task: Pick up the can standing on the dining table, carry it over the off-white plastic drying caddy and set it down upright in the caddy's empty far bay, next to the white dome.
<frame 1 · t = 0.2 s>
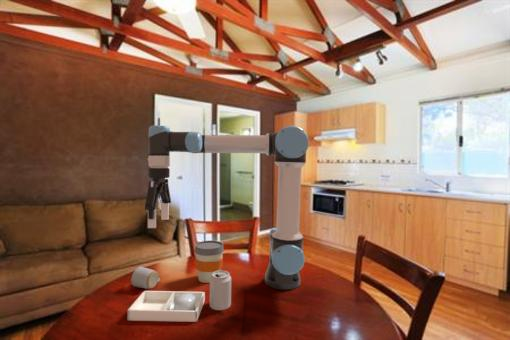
hand: (158, 223, 103), 28 cm above the table, fingers open, 13 cm apart
white dome: (184, 310, 93), point 1 cm above the table, touching caddy
reusable coffee cup: (209, 278, 120), on the table
ceramic mug: (147, 286, 112), on the table
caddy: (168, 312, 93), on the table
can: (220, 307, 97), on the table
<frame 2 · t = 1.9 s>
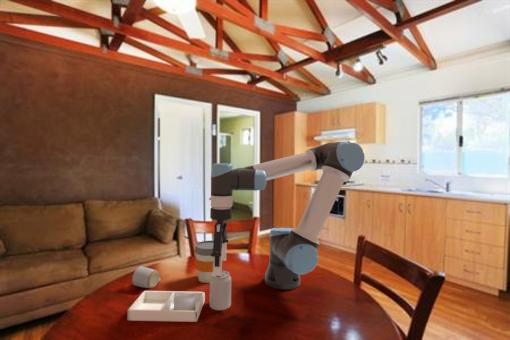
hand: (219, 267, 96), 14 cm above the table, fingers open, 13 cm apart
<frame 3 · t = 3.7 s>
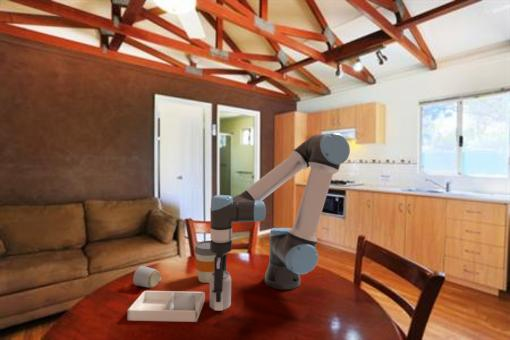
hand: (220, 303, 97), 1 cm above the table, fingers closed on can, 7 cm apart
can: (220, 307, 97), on the table, touching gripper
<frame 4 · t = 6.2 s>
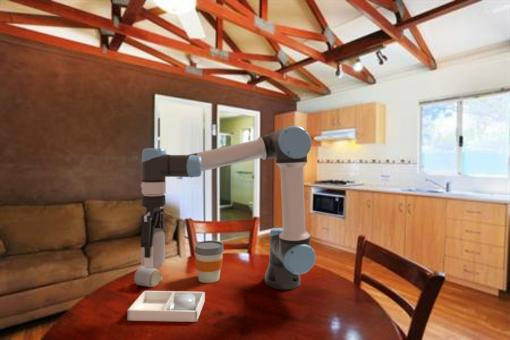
hand: (153, 261, 92), 17 cm above the table, fingers closed on can, 7 cm apart
can: (153, 265, 92), point 16 cm above the table, touching gripper
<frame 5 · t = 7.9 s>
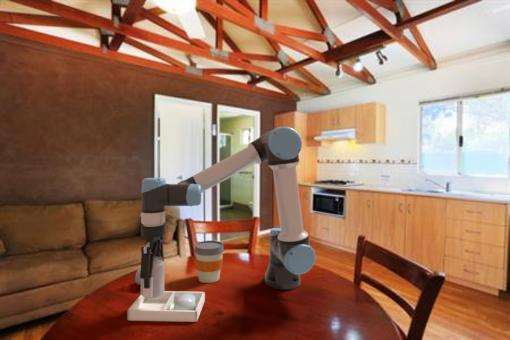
hand: (152, 290, 93), 7 cm above the table, fingers closed on can, 7 cm apart
can: (152, 294, 93), point 6 cm above the table, touching gripper
when the fingers open (4 cm above the table, at t = 9.0 s): can drops 2 cm, resting on caddy.
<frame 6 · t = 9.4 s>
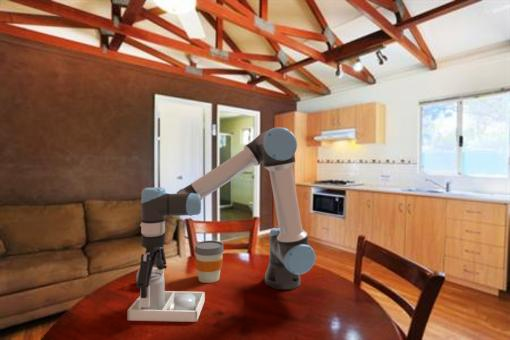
hand: (152, 296, 93), 5 cm above the table, fingers open, 12 cm apart
can: (152, 310, 93), point 1 cm above the table, touching caddy
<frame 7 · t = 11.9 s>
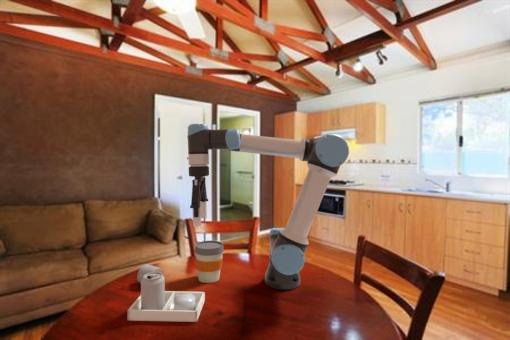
hand: (200, 221, 104), 28 cm above the table, fingers open, 13 cm apart
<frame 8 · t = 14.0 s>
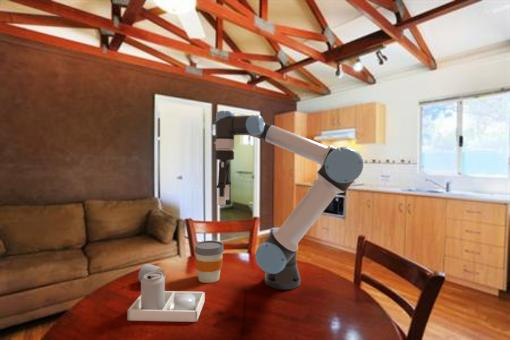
hand: (224, 202, 112), 35 cm above the table, fingers open, 13 cm apart
at the end: can inside the target area on the caddy (0.3 cm from its centre), point 0.6 cm above the caddy's base; can tilted 0°; the gripper is holding nothing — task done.
